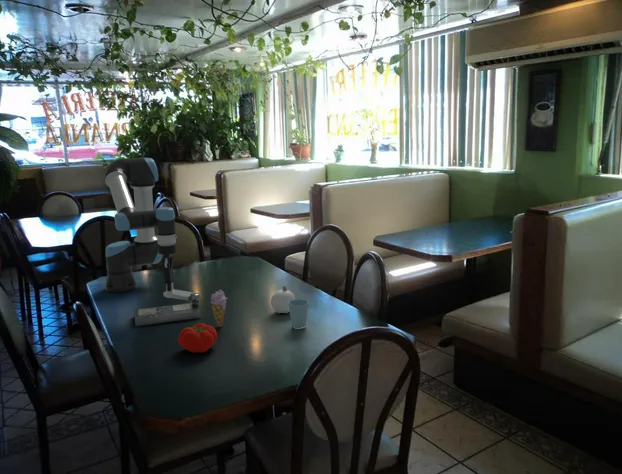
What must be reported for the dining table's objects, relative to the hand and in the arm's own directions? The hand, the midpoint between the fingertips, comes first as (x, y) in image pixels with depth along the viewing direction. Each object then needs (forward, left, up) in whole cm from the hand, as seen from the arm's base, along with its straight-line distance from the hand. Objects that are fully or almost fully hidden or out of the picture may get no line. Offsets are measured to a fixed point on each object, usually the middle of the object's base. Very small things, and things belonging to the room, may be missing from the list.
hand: (170, 297), depth 217 cm
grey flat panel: (0, +5, -1) cm, 6 cm away
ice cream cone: (+26, +17, -7) cm, 32 cm away
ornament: (+20, +45, -7) cm, 50 cm away
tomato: (+46, +6, -7) cm, 46 cm away
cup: (+38, +46, -7) cm, 60 cm away
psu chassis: (+7, -2, -6) cm, 9 cm away
